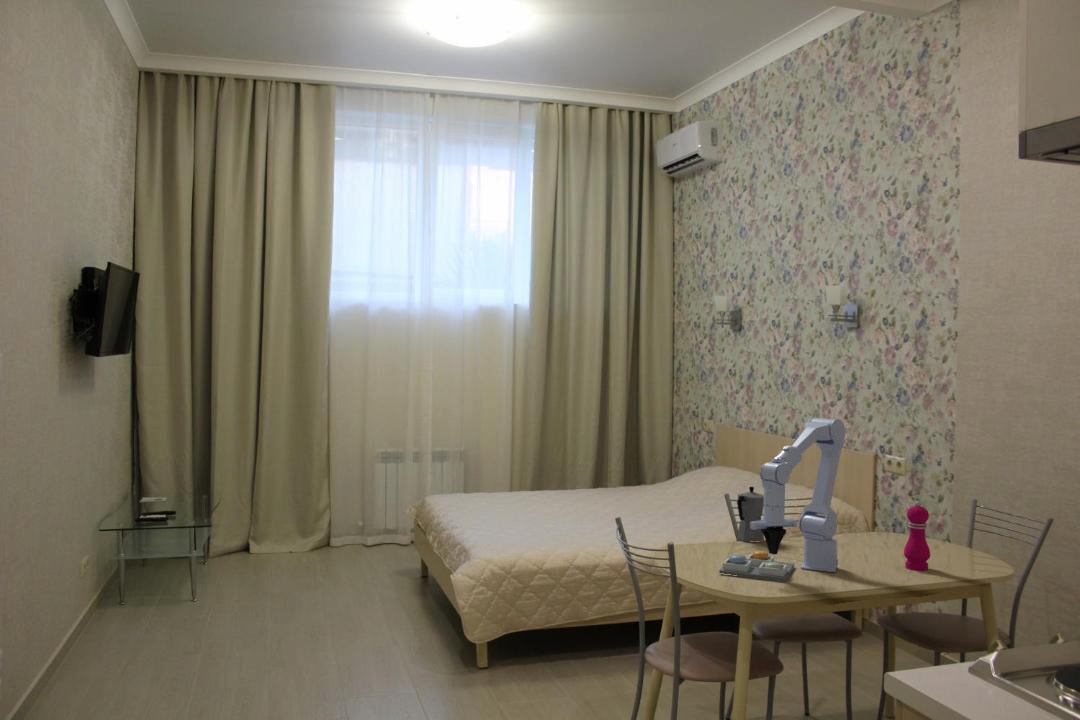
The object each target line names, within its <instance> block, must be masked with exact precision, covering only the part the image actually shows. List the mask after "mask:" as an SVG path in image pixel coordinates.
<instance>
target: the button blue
mask: <svg viewBox="0 0 1080 720" xmlns="http://www.w3.org/2000/svg"><path fill="white" fill-rule="evenodd" d="M728 558H729V563H732V564H745V562H746V558H747V557H746V556H745V555H742V554H729V556H728Z"/></svg>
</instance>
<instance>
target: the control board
mask: <svg viewBox="0 0 1080 720" xmlns="http://www.w3.org/2000/svg"><path fill="white" fill-rule="evenodd" d="M766 562H775V563H780V564H781V565H782V569H776V568H767V567H765V563H766ZM793 568H794V569H795V563H792V562H785V561H775V555H773V556H772V555H769V556H768V559H767V560H760V559H753V558H752V553H750V554H749V555H748V556H747V557H746V562H745V564H732V563H729V557H727V558H726V559H725V560H724V561H723V562H722V567H721V568H720V569H719V573H724V574H731V575H737V576H743V577H742V578H744V577H748V578H747V579H752V578H756V579H755V580H762V581H771V582H778V583H786V581H787V580H788V578H789V577H790V576H791V575H790V574H791V573H792V571H794V569H793ZM719 573H718V574H719Z"/></svg>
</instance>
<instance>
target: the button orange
mask: <svg viewBox="0 0 1080 720" xmlns="http://www.w3.org/2000/svg"><path fill="white" fill-rule="evenodd" d="M751 554H752V558H753V559H760V560H767V559H768V556H770V555H769V554H770V553H769V551H765V550H753V551H752V552H751Z"/></svg>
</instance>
